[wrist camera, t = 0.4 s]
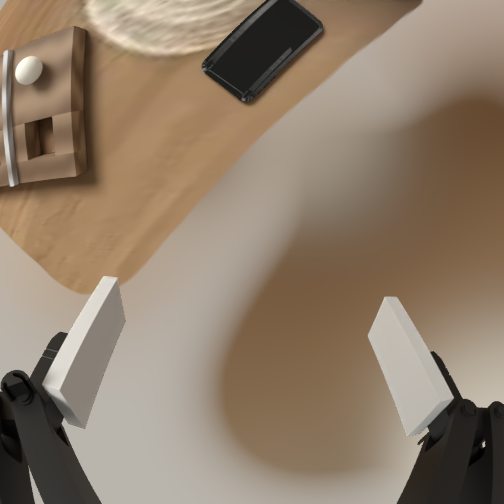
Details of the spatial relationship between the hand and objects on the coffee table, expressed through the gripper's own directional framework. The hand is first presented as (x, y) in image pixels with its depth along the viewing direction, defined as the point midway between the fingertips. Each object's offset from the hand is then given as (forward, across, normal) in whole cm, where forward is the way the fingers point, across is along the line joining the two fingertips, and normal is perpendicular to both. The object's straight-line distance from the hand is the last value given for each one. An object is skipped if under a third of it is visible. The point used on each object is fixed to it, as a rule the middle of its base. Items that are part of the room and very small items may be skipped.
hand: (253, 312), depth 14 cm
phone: (+28, 0, +17) cm, 33 cm away
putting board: (+27, -35, +9) cm, 45 cm away
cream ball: (+22, -30, +15) cm, 40 cm away
